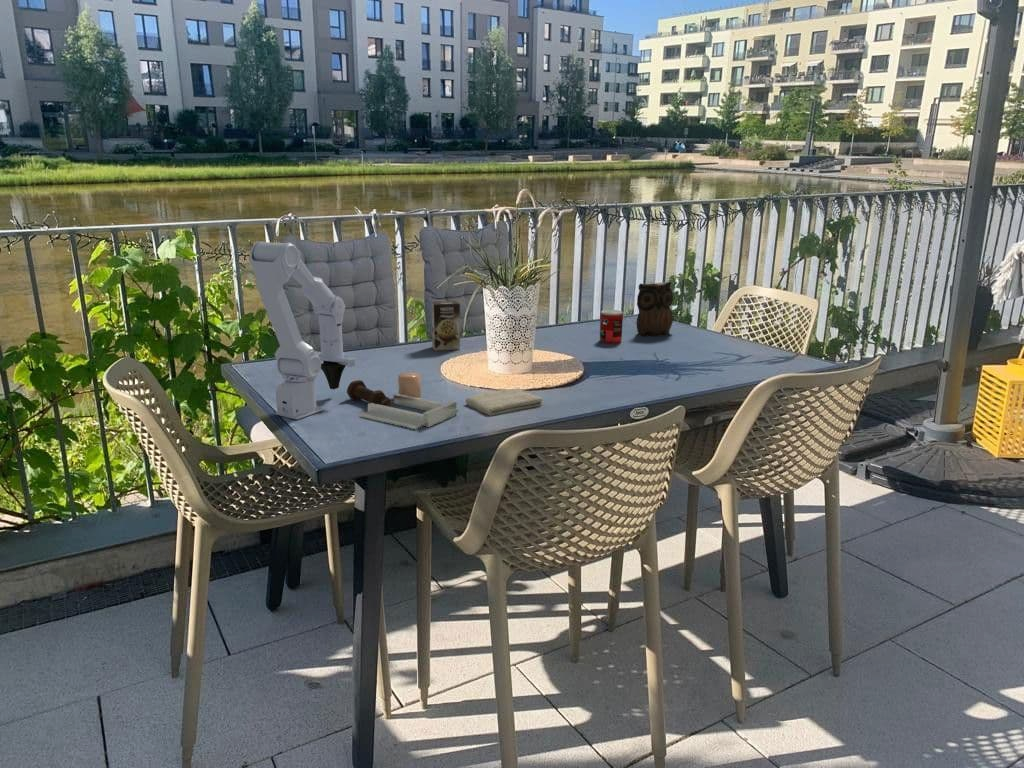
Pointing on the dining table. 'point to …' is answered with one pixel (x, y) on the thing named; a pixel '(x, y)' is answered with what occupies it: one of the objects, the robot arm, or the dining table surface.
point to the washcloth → (503, 401)
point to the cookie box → (446, 325)
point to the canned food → (611, 326)
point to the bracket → (411, 419)
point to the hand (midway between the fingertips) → (334, 388)
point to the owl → (654, 309)
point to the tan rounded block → (409, 384)
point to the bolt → (367, 394)
